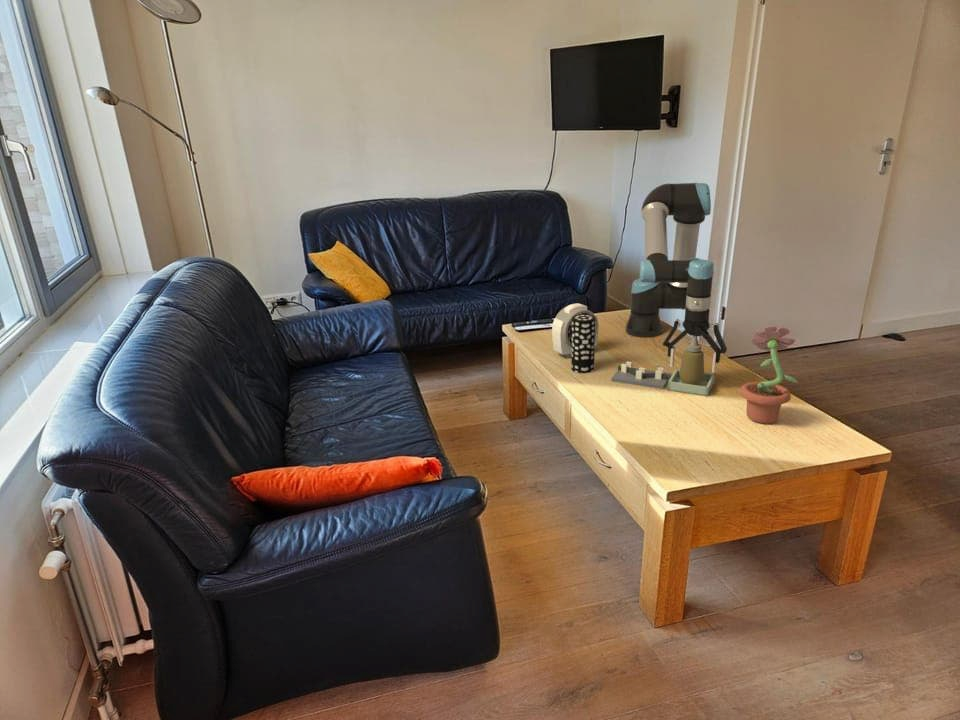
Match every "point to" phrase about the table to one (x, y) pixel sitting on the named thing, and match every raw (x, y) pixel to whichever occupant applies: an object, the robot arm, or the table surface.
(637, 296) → the robot arm
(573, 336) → the white-spotted black cylinder
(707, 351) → the table surface
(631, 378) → the grey peg board
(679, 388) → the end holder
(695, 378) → the squeeze bottle
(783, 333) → the decorative flower
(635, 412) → the table surface
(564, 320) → the alarm clock
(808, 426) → the table surface
